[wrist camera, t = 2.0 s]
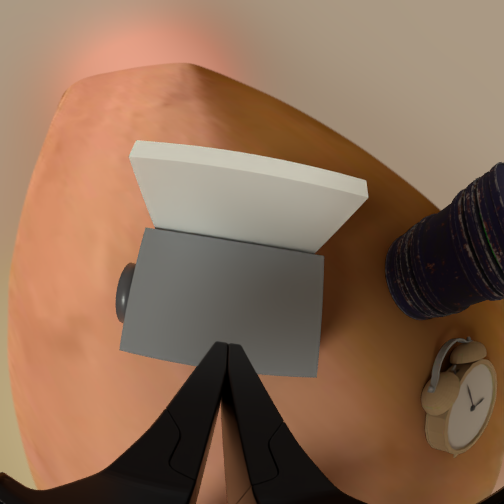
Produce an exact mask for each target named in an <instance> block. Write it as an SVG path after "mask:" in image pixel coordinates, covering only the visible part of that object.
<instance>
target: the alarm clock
mask: <svg viewBox="0 0 504 504" xmlns="http://www.w3.org/2000/svg"><path fill="white" fill-rule="evenodd" d="M457 341H458V342H460V343H463V344H460V345H459V346H457V347H456V348H455V349H454V350H453V351H452V353H451V356H450V363H453V365H452V366H451V367H450V368H449V369H448V370H447V371H446V372H441V373H440V369H441V365H442V362H443V359H444V357H445V355H446V353H447V351H448V350H449V348H450V347H451V346H452V345H453V344H454V343H455V342H457ZM486 355H487V353H486V348H485V346H484V345H483V344H481V343H480V342H476V341H473V340H471V338H470V337H467V339H466V340H465V339H462V338H457V339H451V340H449V341H448V342H446V343H445V344H444V345H443V346H442V348H441V349H440V351H439V353H438V355H437V357H436V359H435V362H434V365H433V370H432V377H431V379H430V380H429V381H428V382H427V383H426V385H425V387H424V389H423V391H422V395H421V404H422V407H423V409H424V410H425V411H426V412H427V415H426V424H425V432H426V438H427V441H428V443H429V444H430V446H431V447H432V448H435V449H438V450H443V451H446V452H448V453H451V454H454V456H453V457H454V458H455V457H456V456H457V455H458V454H461V453H464V452H465V451H467V450H468V449H469V448H471V447H472V446H473V445H474V444H475V442H476V441H477V440H478V439H479V438H480V436H481V435H482V433H483V431H484V430H485V428H486V426H487V424H488V422H489V419H490V417H491V414H492V412H493V408H494V404H495V400H496V393H497V378H496V372H495V369H494V367H493V364H492V363H491V362H490V361H489V360H485V359H482V358H484V357H486Z"/></svg>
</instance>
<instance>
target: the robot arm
mask: <svg viewBox="0 0 504 504" xmlns="http://www.w3.org/2000/svg"><path fill="white" fill-rule="evenodd" d="M220 403H221V420H222V438H223V453H224V467H225V480H226V492H227V503H228V504H367V503H365V502H362V501H360V500H358V499H355V498H353V497H351V496H349V495H347V494H345V493H343V492H342V491H340V490H339V489H338V488H337V487H335V486H334V485H333V484H332V483H331V482H330V481H329V479H328V478H327V477H326V476H325V475H324V474H323V473H322V472H321V470H320V469H319V468H318V467H317V466H316V465H315V463H314V462H313V461H312V460H311V459H310V458H309V456H308V455H307V454H306V453H305V451H304V450H303V449H302V448H301V446H300V445H299V444H298V442H297V441H296V439H295V438H294V436H293V435H292V433H291V432H290V430H289V428H288V427H287V425H286V423H285V422H283V421H284V420H283V418H282V417H281V415H280V413H279V412H278V410H277V408H276V407H275V405H274V403H273V401H272V400H271V398H270V396H269V394H268V393H267V391H266V389H265V387H264V386H263V384H262V382H261V380H260V378H259V377H258V375H257V373H256V371H255V369H254V368H253V366H252V364H251V362H250V360H249V358H248V357H247V355H246V353H245V351H244V349H243V347H242V346H241V345H240V344H235V343H229V344H228V343H226V342H220V341H216V342H214V344H213V345H212V346H211V348H210V349H209V351H208V352H207V353H206V355H205V356H204V357H203V359H202V360H201V362H200V363H199V364H198V366H197V367H196V368H195V370H194V371H193V372H192V374H191V375H190V376H189V378H188V379H187V380H186V382H185V383H184V384H183V386H182V387H181V388H180V390H179V391H178V392H177V394H176V395H175V396H174V398H173V399H172V400H171V402H170V403H169V404H168V406H167V407H166V409H164V411H163V412H162V413H161V415H160V416H159V417H158V418H157V420H156V421H155V422H154V423H153V424H152V426H151V427H150V428H149V429H148V430H147V431H146V432H145V433H144V434H143V435H142V436H141V437H140V438H139V439H138V440H137V441H136V442H135V443H134V444H133V445H132V446H131V447H130V448H128V449H127V450H126V451H125V452H124V453H123V454H122V455H121V456H120V457H119V458H117V459H116V460H115V461H114V462H113V463H112V464H110V465H109V466H108V467H106V468H105V469H104V470H102V471H100V472H98V473H96V474H94V475H92V476H89V477H86V478H83V479H80V480H77V481H75V482H72V483H68V484H65V485H62V486H59V487H55V488H52V489H48V490H34V489H30V488H27V487H25V486H24V485H22V484H21V483H19V482H17V481H16V480H14V479H13V478H11V477H10V476H8V475H7V474H5V473H3V472H1V473H0V504H196V501H197V497H198V493H199V489H200V485H201V481H202V477H203V473H204V469H205V465H206V461H207V457H208V453H209V449H210V445H211V441H212V437H213V433H214V428H215V424H216V420H217V416H218V412H219V408H220ZM476 504H504V487H502V488H501V489H499V490H498V491H496V492H495V493H493V494H491V495H490V496H488V497H487V498H485V499H483V500H482V501H480V502H478V503H476Z"/></svg>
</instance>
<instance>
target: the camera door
mask: <svg viewBox="0 0 504 504" xmlns="http://www.w3.org/2000/svg"><path fill="white" fill-rule="evenodd" d="M129 159H130V162H131V165H132V168H133V171H134V173H135V176H136V179H137V182H138V185H139V187H140V190H141V193H142V196H143V198H144V201H145V204H146V206H147V209H148V211H149V214H150V216H151V219H152V221H153V224H154V226H155V229H158V230H165V231H171V232H178V233H184V234H191V235H197V236H203V237H210V238H216V239H223V240H229V241H235V242H241V243H248V244H254V245H260V246H266V247H272V248H279V249H285V250H291V251H297V252H303V253H309V254H315V253H316V252H317V251H318V250H319V249H320V248H321V247H322V246H323V245H324V244H325V243H326V242H327V241H328V239H329V238H330V237H331V236H332V235H333V234H334V233H335V232H336V231H337V230H338V229H339V228H340V227H341V226H342V225H343V224H344V223H345V222H346V221H347V220H348V219H349V218H350V217H351V216H352V215H353V214H354V212H355V211H356V210H357V209H358V208H359V207H360V206H361V205H362V204H363V203H364V202H365V201H366V200H367V199H368V191H367V183H366V180H362V179H359V178H355V177H352V176H348V175H344V174H340V173H337V172H333V171H329V170H325V169H321V168H316V167H312V166H308V165H303V164H299V163H294V162H290V161H285V160H280V159H275V158H270V157H264V156H259V155H253V154H248V153H242V152H235V151H229V150H222V149H215V148H208V147H200V146H192V145H183V144H174V143H163V142H151V141H137V140H136V142H135V144H134V146H133V148H132V151H131V153H130V155H129Z"/></svg>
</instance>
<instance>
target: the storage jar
mask: <svg viewBox="0 0 504 504" xmlns="http://www.w3.org/2000/svg"><path fill="white" fill-rule="evenodd" d="M385 271H386V279H387V284H388V287H389V290H390V293H391V295H392V297H393V299H394V301H395V303H396V304H397V305H398V307H399V308H400V309H401V310H402V311H403V312H404V313H405V314H406V315H408V316H409V317H411V318H413V319H417V320H426V319H430V318H433V317H443V316H447V315H451V314H456V313H459V312H461V311H463V310H465V309H467V308H468V307H469V306H470V305H472V304H476V303H479V302H482V301H485V300H490V301H495V300H501V299H504V163H502V162H499V163H497V164H496V165H495V166H494V167H492V169H491V170H490V172H487V173H485V174H484V175H483V176H482V177H479V178H477V179H476V180H474V181H473V182H472V183H471V184H469V185H468V187H467V188H466V189H464V190H462V191H460V192H459V193H458V194H457V196H456V197H455V198H454V199H453V201H452V203H451V204H450V205H448V206H447V207H446V208H444V209H443V210H441V211H440V212H439V213H437V214H432V215H430V216H427V217H425V218H423V219H422V220H421V221H420V222H419V223H417V224H416V225H414V226H413V227H411V228H410V229H409V230H408V231H407V232H406V233H405V234H404V235H402V236H400V237H399V238H397V239H396V240H395V241H394V242H393V243H392V245H391V246H390V248H389V250H388V253H387V257H386V266H385Z"/></svg>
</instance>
